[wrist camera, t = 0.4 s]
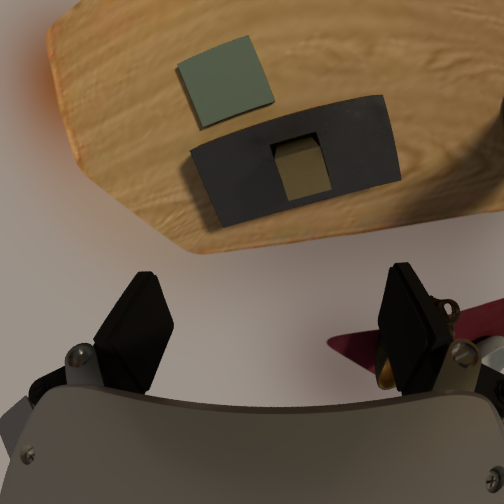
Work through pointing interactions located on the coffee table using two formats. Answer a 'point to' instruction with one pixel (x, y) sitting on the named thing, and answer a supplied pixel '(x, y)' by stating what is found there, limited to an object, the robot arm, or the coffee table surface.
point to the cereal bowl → (492, 352)
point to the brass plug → (301, 167)
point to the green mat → (226, 81)
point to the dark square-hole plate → (289, 126)
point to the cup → (381, 357)
